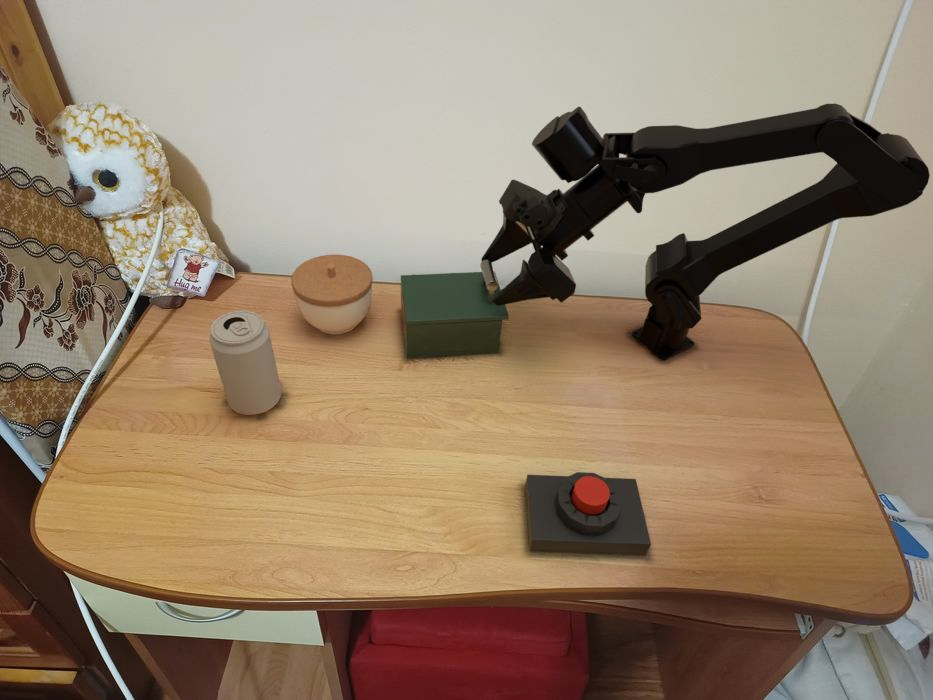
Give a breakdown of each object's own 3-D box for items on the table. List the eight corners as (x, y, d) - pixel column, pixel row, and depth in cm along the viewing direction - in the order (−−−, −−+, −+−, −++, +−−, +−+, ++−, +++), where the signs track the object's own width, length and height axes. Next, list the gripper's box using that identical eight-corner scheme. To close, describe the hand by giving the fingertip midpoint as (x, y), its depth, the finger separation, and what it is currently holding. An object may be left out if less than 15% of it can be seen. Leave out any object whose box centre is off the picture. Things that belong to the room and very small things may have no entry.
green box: (486, 307, 93) (489, 275, 89) (498, 353, 86) (502, 320, 82) (401, 311, 91) (400, 279, 88) (406, 358, 84) (406, 325, 80)
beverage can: (264, 373, 81) (247, 300, 72) (292, 401, 77) (278, 327, 69) (218, 397, 77) (195, 323, 69) (246, 427, 74) (225, 353, 66)
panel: (631, 490, 70) (639, 468, 67) (645, 555, 64) (655, 534, 62) (524, 486, 70) (529, 464, 67) (529, 551, 64) (534, 530, 61)
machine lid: (494, 275, 89) (497, 248, 86) (508, 320, 82) (512, 292, 79) (400, 279, 87) (400, 252, 84) (406, 325, 80) (405, 297, 77)
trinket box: (307, 295, 93) (299, 241, 87) (379, 299, 93) (376, 246, 87) (290, 343, 85) (280, 287, 79) (369, 348, 85) (365, 292, 79)
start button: (603, 486, 66) (607, 476, 65) (609, 516, 63) (612, 506, 62) (569, 485, 66) (572, 475, 65) (573, 514, 63) (576, 504, 62)
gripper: (528, 131, 80) (439, 209, 86) (566, 204, 67) (458, 291, 72) (576, 186, 87) (491, 255, 92) (619, 263, 73) (517, 339, 79)
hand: (488, 282), depth 84 cm, fingers open, 9 cm apart
